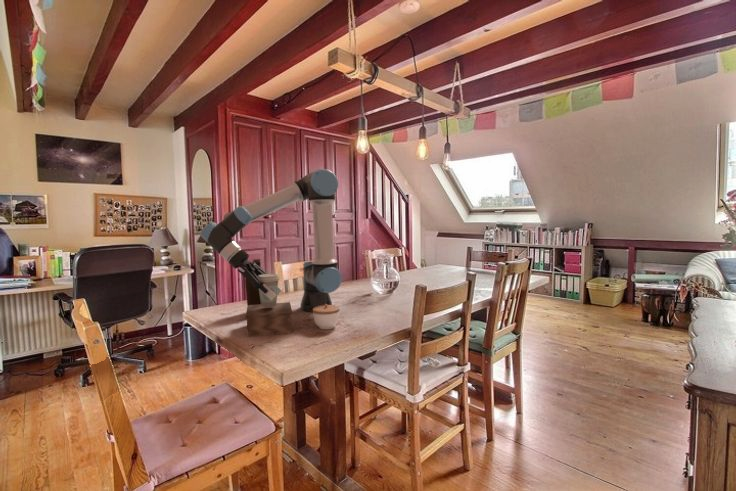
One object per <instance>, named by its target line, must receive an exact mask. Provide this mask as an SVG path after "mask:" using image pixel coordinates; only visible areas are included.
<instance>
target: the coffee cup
mask: <svg viewBox="0 0 736 491" xmlns="http://www.w3.org/2000/svg"><path fill="white" fill-rule="evenodd" d="M279 277H280V276H279V274H276V273H267V274H262V275H259V276H258V278H259V279H260V281H261V282H262V283H263V284H265V285H266V286H267V287H268V288H269V289H271V290H272V291H273V292H274V293H275V294H276V296H275V297H274V298H273V299H272V300H270V299H269V298H268V297H267V296H266V295H265V294H264V293H263V292H262V291H261V290H260V289H259V294H260V301H261V306H263V307H272V306H275V305H276V303H278V295H277V292H278V287H279V280H280V278H279Z"/></svg>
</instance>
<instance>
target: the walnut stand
mask: <svg viewBox="0 0 736 491" xmlns="http://www.w3.org/2000/svg"><path fill="white" fill-rule="evenodd" d="M244 316H245V317H244V318H245V319H246V326H247V327H246V328H247V329H246V332H247V337H248V338H249V337H259V336H269V335H270V336H271V335H279V334H280V335H281V334H289V333H292V316H293V310H292V306H291V302H290V301H289V302H288V301H287V302H277V303H276V305H275V306H272V307H263V306H261V304H258V305H248V307H247V309H246V313H245V315H244Z"/></svg>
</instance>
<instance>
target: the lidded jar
mask: <svg viewBox="0 0 736 491" xmlns="http://www.w3.org/2000/svg"><path fill="white" fill-rule="evenodd" d="M340 308H341V307H339V306H338V305H335V304H334V305H333V304H332V305H327V304H325V305H321V306H316V307H314V308H313V311H312V316H313V317H312V318H313V322H314V323H315V325H316V326H317V327H318V329H320V330H332V329H334V328H335V326H336V325H337V324H338V323H339V319H340Z"/></svg>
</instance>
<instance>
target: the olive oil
mask: <svg viewBox="0 0 736 491" xmlns="http://www.w3.org/2000/svg"><path fill="white" fill-rule="evenodd" d="M253 261H254V262H255V263H256V264H257V265H258V266H259V267H260V268H261V269H262V270H264V269H263V267H261V266H262V265H261V263H262V262H261V259H260V258H253V259H252V262H253ZM244 280H245V281H244V282H245V293H246V304H247V307H248V305H258V304H261V301H260V294H259V289H258V290H256V289H255V288H254V287H253V286H252V285H251V284H250V283H249V282H248V280H247V279H246V278H244Z"/></svg>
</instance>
